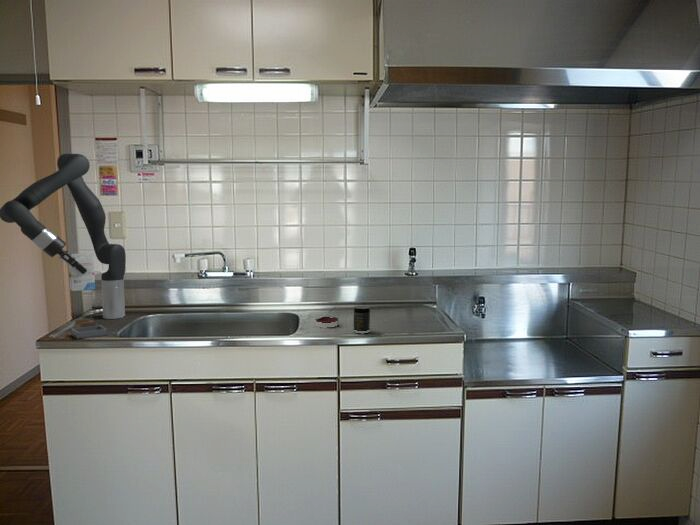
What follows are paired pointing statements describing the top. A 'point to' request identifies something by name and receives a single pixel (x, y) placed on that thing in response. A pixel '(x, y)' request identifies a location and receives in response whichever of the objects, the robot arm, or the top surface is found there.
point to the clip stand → (83, 323)
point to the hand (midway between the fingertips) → (84, 271)
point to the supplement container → (361, 318)
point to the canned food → (326, 318)
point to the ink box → (79, 279)
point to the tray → (89, 331)
